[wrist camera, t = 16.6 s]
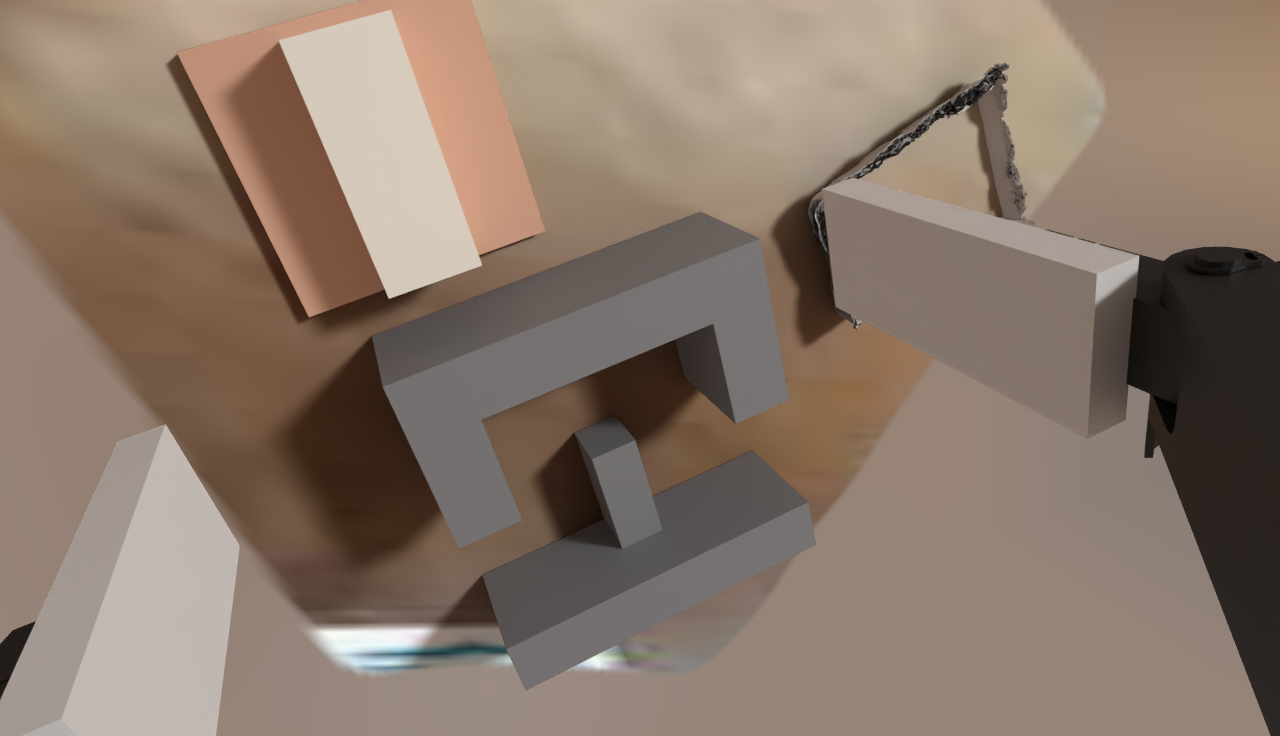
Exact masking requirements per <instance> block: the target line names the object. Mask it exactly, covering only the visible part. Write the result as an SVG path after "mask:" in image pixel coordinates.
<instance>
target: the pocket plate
mask: <svg viewBox="0 0 1280 736" xmlns="http://www.w3.org/2000/svg"><path fill="white" fill-rule="evenodd" d="M372 339H373V344H374V349H375V353H376V358H377V363H378V367H379V372H380V376H381V381H382V386H383V389H384V391H385V393H386V395H387V397H388V399H389V401H390V403H391V406H392V408H393V410H394V412H395V414H396V416H397V418H398V420H399V423H400V425H401V427H402V429H403V431H404V433H405V435H406V437H407V440H408V442H409V444H410V446H411V448H412V450H413V452H414V454H415V456H416V459H417V461H418V463H419V465H420V467H421V469H422V471H423V473H424V476H425V478H426V480H427V482H428V484H429V486H430V488H431V490H432V493H433V495H434V497H435V499H436V501H437V503H438V505H439V507H440V510H441V512H442V514H443V516H444V518H445V520H446V522H447V524H448V527H449V529H450V531H451V533H452V535H453V537H454V539H455V541H456V543H457V546H458V548H459V549H460V548H462V547H464V546H466V545H469V544H471V543H473V542H475V541H477V540H480V539H482V538H484V537H486V536H489V535H491V534H493V533H495V532H497V531H500V530H502V529H504V528H506V527H508V526H511V525H513V524H515V523H517V522H520V521H522V518H521V515H520V513H519V511H518V508H517V506H516V503H515V501H514V498H513V496H512V494H511V491H510V489H509V486H508V484H507V481H506V479H505V476H504V474H503V472H502V469H501V467H500V464H499V462H498V459H497V457H496V455H495V452H494V450H493V447H492V445H491V442H490V440H489V438H488V435H487V433H486V430H485V428H484V425H483V423H482V419H485V418H487V417H490V416H492V415H494V414H497V413H499V412H502V411H504V410H506V409H509V408H511V407H514V406H516V405H518V404H521V403H523V402H526V401H528V400H530V399H533V398H535V397H538V396H540V395H542V394H545V393H547V392H550V391H552V390H555V389H557V388H559V387H562V386H564V385H567V384H569V383H571V382H574V381H576V380H579V379H581V378H583V377H586V376H588V375H591V374H593V373H595V372H598V371H600V370H603V369H605V368H608V367H610V366H612V365H615V364H617V363H620V362H622V361H624V360H627V359H629V358H632V357H634V356H636V355H639V354H641V353H644V352H646V351H648V350H651V349H653V348H656V347H658V346H661V345H663V344H665V343H668V342H670V341H673V340H675V342H676V346H677V350H678V354H679V358H680V362H681V366H682V370H683V374H684V377H685V378H686V379H687V380H688V381H689V382H690V383H691V384H693V385H694V386H695V387H696V388H697V389H698V390H699V391H700V392H701V393H702V394H704V395H705V396H706V397H707V398H708V399H709V400H710V401H711V402H712V403H713V404H715V405H716V406H717V407H718V408H719V409H720V410H721V411H722V412H723V413H724V414H725V415H727V416H728V417H729V418H730V419H731V420H732V421H733V422H734V423H735V424H737V423H739V422H741V421H744V420H746V419H748V418H750V417H752V416H755V415H757V414H759V413H761V412H764V411H766V410H768V409H770V408H772V407H775V406H777V405H779V404H781V403H783V402H786V401H788V400H789V395H788V390H787V384H786V379H785V373H784V368H783V362H782V357H781V351H780V346H779V341H778V335H777V330H776V324H775V319H774V313H773V308H772V302H771V297H770V291H769V286H768V280H767V275H766V270H765V264H764V259H763V253H762V248H761V242H760V238H757V237H755V236H753V235H751V234H749V233H746V232H744V231H742V230H740V229H738V228H735V227H733V226H731V225H729V224H727V223H724V222H722V221H720V220H718V219H715V218H713V217H711V216H709V215H707V214H704V213H702V212H699V213H696V214H694V215H691V216H688V217H686V218H683V219H680V220H678V221H675V222H673V223H670V224H667V225H665V226H662V227H659V228H657V229H654V230H651V231H649V232H646V233H643V234H641V235H638V236H635V237H633V238H630V239H627V240H625V241H622V242H620V243H617V244H614V245H612V246H609V247H606V248H604V249H601V250H598V251H596V252H593V253H590V254H588V255H585V256H582V257H580V258H577V259H575V260H572V261H569V262H567V263H564V264H561V265H559V266H556V267H553V268H551V269H548V270H545V271H543V272H540V273H537V274H535V275H532V276H529V277H527V278H524V279H522V280H519V281H516V282H514V283H511V284H508V285H506V286H503V287H500V288H498V289H495V290H492V291H490V292H487V293H484V294H482V295H479V296H477V297H474V298H471V299H469V300H466V301H463V302H461V303H458V304H455V305H453V306H450V307H447V308H445V309H442V310H439V311H437V312H434V313H432V314H429V315H426V316H424V317H421V318H418V319H416V320H413V321H410V322H408V323H405V324H402V325H400V326H397V327H394V328H392V329H389V330H386V331H384V332H381V333H379V334H376V335H373V336H372ZM574 434H575V436H576V439H577V442H578V445H579V448H580V451H581V454H582V457H583V460H584V462H585V465H586V468H587V471H588V474H589V477H590V480H591V483H592V486H593V488H594V491H595V494H596V497H597V500H598V503H599V506H600V509H601V512H602V514H603V517H604V519H603V520H601V521H598V522H596V523H594V524H592V525H590V526H588V527H586V528H583V529H581V530H579V531H577V532H575V533H573V534H570V535H568V536H566V537H564V538H562V539H560V540H557V541H555V542H553V543H551V544H549V545H547V546H544V547H542V548H540V549H538V550H536V551H534V552H531V553H529V554H527V555H525V556H523V557H521V558H518V559H516V560H514V561H512V562H510V563H508V564H505V565H503V566H501V567H499V568H497V569H495V570H492V571H490V572H488V573H486V574H484V575H482V576H483V579H484V582H485V585H486V588H487V591H488V594H489V597H490V600H491V603H492V606H493V610H494V613H495V616H496V619H497V622H498V625H499V628H500V631H501V634H502V637H503V640H504V644H505V647H506V650H507V652H508V654H509V656H510V658H511V660H512V662H513V664H514V667H515V669H516V671H517V673H518V675H519V677H520V679H521V681H522V684H523V686H524V688H525V690H528V689H530V688H532V687H534V686H536V685H538V684H540V683H542V682H543V681H546V680H548V679H550V678H551V677H553V676H556V675H558V674H560V673H562V672H564V671H566V670H568V669H569V668H571V667H573V666H575V665H577V664H579V663H581V662H583V661H585V660H587V659H589V658H591V657H593V656H595V655H597V654H599V653H601V652H603V651H605V650H607V649H609V648H611V647H613V646H615V645H617V644H619V643H621V642H623V641H625V640H627V639H629V638H631V637H633V636H635V635H637V634H639V633H641V632H643V631H645V630H647V629H649V628H651V627H653V626H655V625H657V624H659V623H661V622H663V621H665V620H667V619H669V618H671V617H673V616H675V615H677V614H679V613H681V612H683V611H685V610H687V609H689V608H691V607H693V606H695V605H697V604H699V603H701V602H703V601H705V600H707V599H709V598H711V597H713V596H715V595H717V594H719V593H721V592H723V591H724V590H726V589H728V588H730V587H732V586H734V585H736V584H738V583H740V582H742V581H744V580H746V579H748V578H750V577H752V576H754V575H756V574H758V573H760V572H762V571H764V570H766V569H768V568H770V567H772V566H774V565H776V564H778V563H780V562H782V561H784V560H786V559H788V558H790V557H792V556H794V555H796V554H798V553H800V552H802V551H804V550H806V549H808V548H810V547H812V546H814V545H816V542H815V537H814V532H813V526H812V521H811V515H810V510H809V504H808V502H807V501H806V500H805V499H804V498H803V497H802V496H801V495H800V494H799V493H798V492H797V491H796V490H795V489H793V488H792V487H791V486H790V485H789V484H788V483H787V482H786V481H785V480H784V479H783V478H782V477H781V476H780V475H779V474H777V473H776V472H775V471H774V470H773V469H772V468H771V467H770V466H769V465H768V464H767V463H766V462H765V461H764V460H762V459H761V458H760V457H759V456H758V455H757V454H756V453H755V452H754V451H753V450H752V451H750V452H748V453H746V454H744V455H741V456H739V457H737V458H735V459H733V460H731V461H728V462H726V463H724V464H722V465H720V466H718V467H715V468H713V469H711V470H709V471H707V472H705V473H702V474H700V475H698V476H696V477H694V478H692V479H689V480H687V481H685V482H683V483H681V484H679V485H676V486H674V487H672V488H670V489H668V490H666V491H663V492H661V493H659V494H657V495H655V496H653V497H652V493H651V490H650V487H649V483H648V480H647V477H646V473H645V470H644V467H643V464H642V460H641V457H640V454H639V450H638V447H637V444H636V440H635V439H634V438H633V437H632V435H631V434H630V433H629V432H628V430H627V429H626V428H625V427H624V425H623V424H622V423H621V422H620V420H619V419H618V418H617V417H616V415H615V416H612V417H610V418H608V419H605V420H603V421H601V422H598V423H596V424H594V425H591V426H589V427H587V428H585V429H582V430H580V431H578V432H575V433H574Z"/></svg>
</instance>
